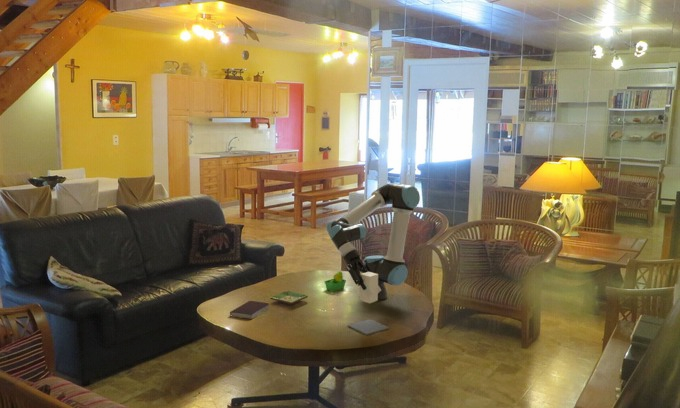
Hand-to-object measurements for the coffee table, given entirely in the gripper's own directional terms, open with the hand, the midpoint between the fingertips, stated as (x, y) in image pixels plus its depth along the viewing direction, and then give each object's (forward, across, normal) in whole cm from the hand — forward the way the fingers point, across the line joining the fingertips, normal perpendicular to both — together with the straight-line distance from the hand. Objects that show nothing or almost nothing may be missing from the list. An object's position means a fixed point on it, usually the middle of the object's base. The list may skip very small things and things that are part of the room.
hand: (374, 293), depth 278 cm
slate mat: (+10, 0, -15) cm, 18 cm away
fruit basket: (-27, -34, -53) cm, 68 cm away
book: (-30, +25, -57) cm, 69 cm away
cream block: (+1, 0, -6) cm, 6 cm away
